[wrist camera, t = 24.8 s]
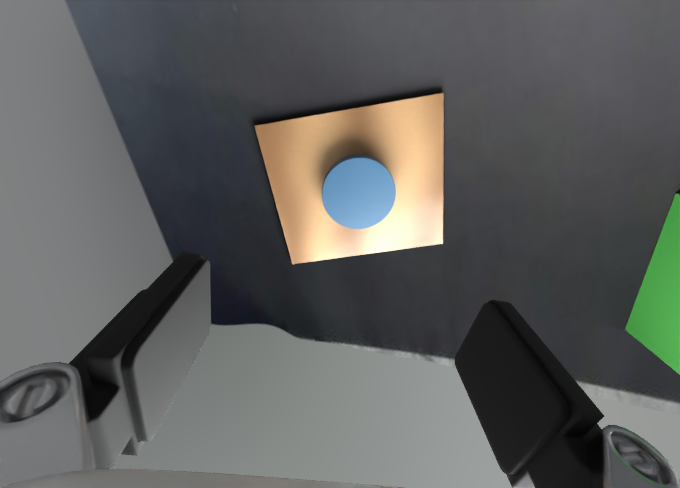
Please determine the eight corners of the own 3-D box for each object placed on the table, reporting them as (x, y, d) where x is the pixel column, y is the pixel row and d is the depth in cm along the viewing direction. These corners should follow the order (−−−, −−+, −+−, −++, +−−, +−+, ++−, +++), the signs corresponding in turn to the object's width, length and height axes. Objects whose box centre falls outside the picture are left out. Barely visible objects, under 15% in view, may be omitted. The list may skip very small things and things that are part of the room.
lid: (405, 201, 28) (409, 207, 26) (346, 234, 29) (347, 241, 28) (371, 139, 25) (373, 141, 24) (309, 179, 27) (307, 183, 25)
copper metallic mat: (292, 262, 31) (292, 264, 31) (255, 125, 25) (254, 125, 25) (441, 241, 30) (443, 243, 30) (442, 92, 24) (443, 92, 23)
